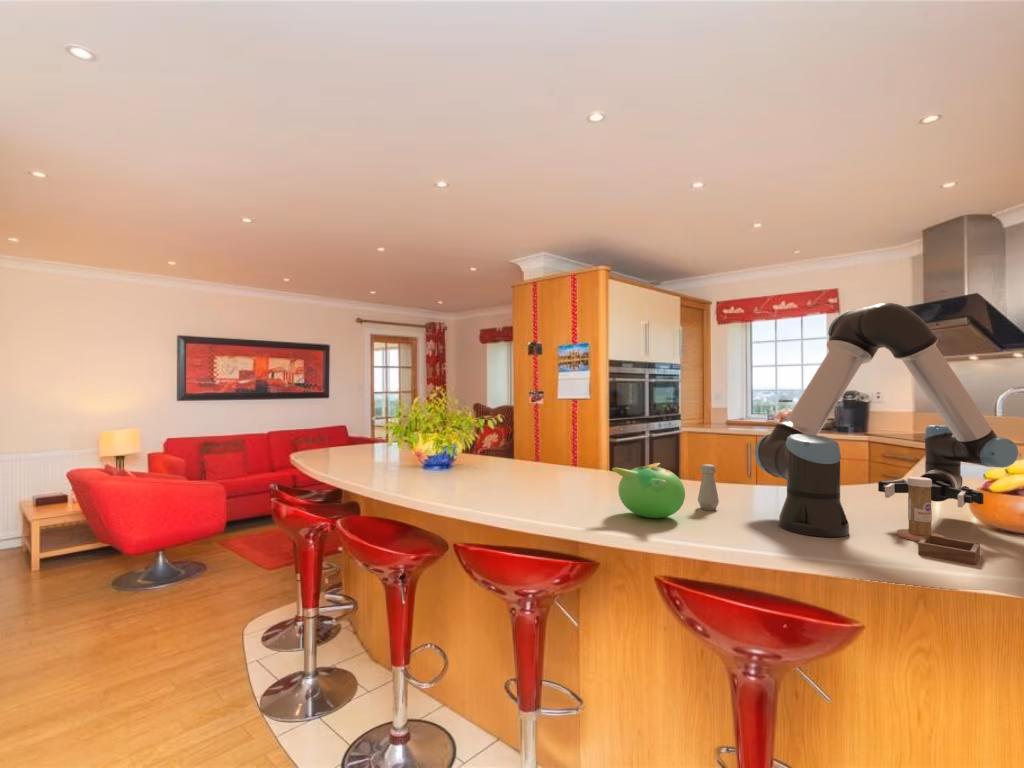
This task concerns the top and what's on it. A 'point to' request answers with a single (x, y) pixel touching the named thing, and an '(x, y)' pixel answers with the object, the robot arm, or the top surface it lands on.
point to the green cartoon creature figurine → (650, 491)
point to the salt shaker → (708, 488)
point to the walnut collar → (949, 549)
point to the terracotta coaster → (907, 535)
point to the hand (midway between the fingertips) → (921, 496)
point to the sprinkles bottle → (919, 506)
